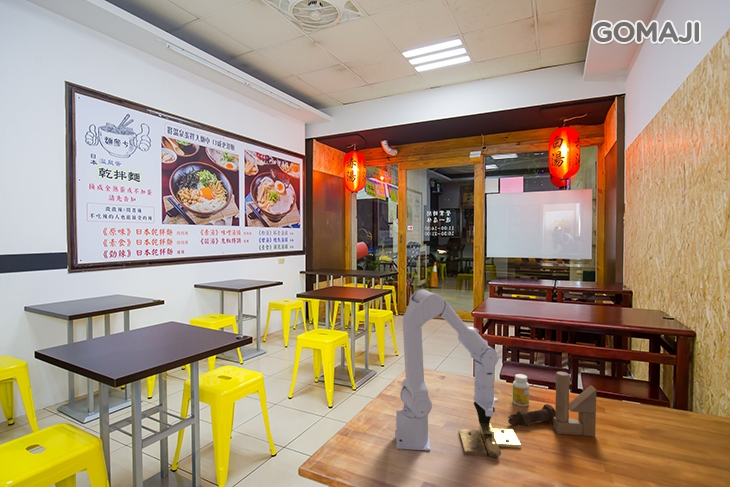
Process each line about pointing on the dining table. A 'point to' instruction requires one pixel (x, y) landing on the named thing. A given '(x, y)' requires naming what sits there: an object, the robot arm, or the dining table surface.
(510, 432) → the loose leaf
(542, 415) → the bolt
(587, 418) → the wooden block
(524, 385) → the supplement bottle
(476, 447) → the fixed leaf
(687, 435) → the dining table surface
